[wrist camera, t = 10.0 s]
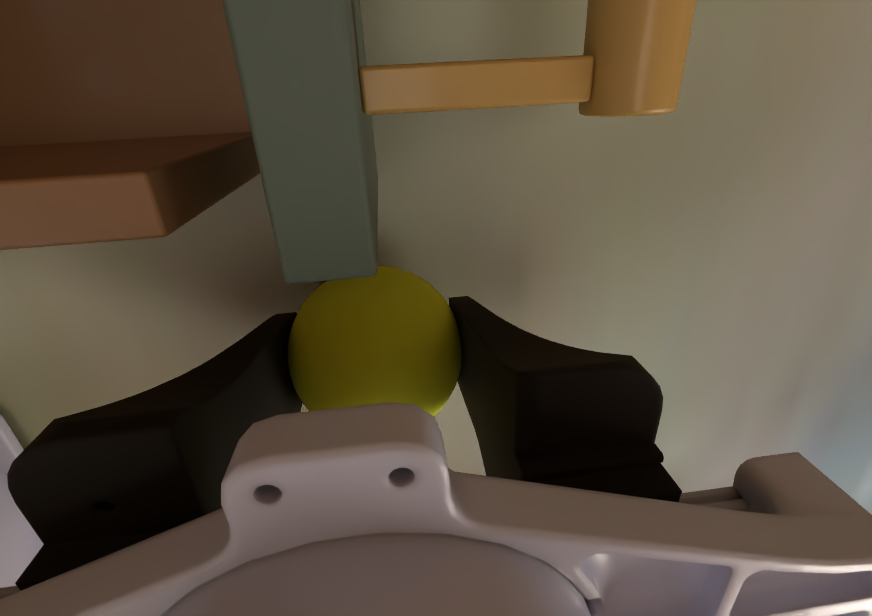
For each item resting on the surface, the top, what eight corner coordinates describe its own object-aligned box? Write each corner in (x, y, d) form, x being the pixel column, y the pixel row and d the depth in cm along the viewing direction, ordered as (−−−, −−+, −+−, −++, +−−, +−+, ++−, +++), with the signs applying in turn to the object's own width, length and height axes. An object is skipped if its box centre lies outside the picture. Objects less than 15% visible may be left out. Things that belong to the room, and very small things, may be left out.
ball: (451, 365, 16) (478, 467, 12) (316, 380, 16) (292, 491, 11) (446, 236, 14) (477, 303, 10) (289, 249, 14) (245, 325, 9)
